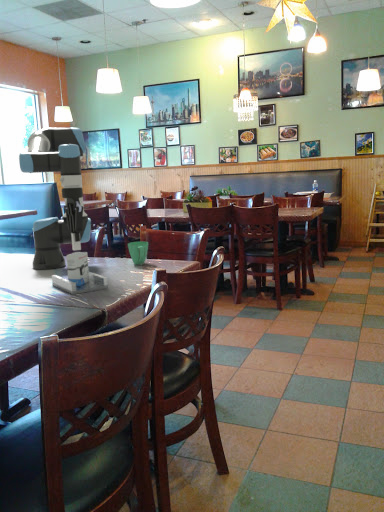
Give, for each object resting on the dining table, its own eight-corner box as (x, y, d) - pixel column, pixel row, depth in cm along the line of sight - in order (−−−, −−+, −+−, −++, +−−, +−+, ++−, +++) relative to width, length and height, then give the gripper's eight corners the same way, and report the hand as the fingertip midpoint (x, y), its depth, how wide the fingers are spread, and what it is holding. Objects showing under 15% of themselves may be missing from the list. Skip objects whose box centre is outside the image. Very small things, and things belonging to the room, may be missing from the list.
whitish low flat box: (52, 285, 176) (51, 275, 175) (85, 279, 184) (85, 270, 183) (72, 294, 160) (71, 283, 159) (107, 288, 168) (107, 277, 168)
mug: (127, 262, 218) (126, 242, 217) (146, 261, 221) (145, 241, 220) (132, 268, 205) (131, 246, 203) (153, 266, 208) (152, 245, 206)
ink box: (79, 286, 167) (77, 255, 165) (68, 286, 168) (65, 255, 166) (90, 281, 175) (88, 251, 173) (78, 280, 177) (76, 251, 175)
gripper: (55, 187, 168) (60, 249, 173) (69, 187, 158) (74, 253, 162) (74, 186, 173) (79, 246, 177) (88, 186, 163) (93, 250, 167)
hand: (76, 249), depth 170 cm, fingers closed
